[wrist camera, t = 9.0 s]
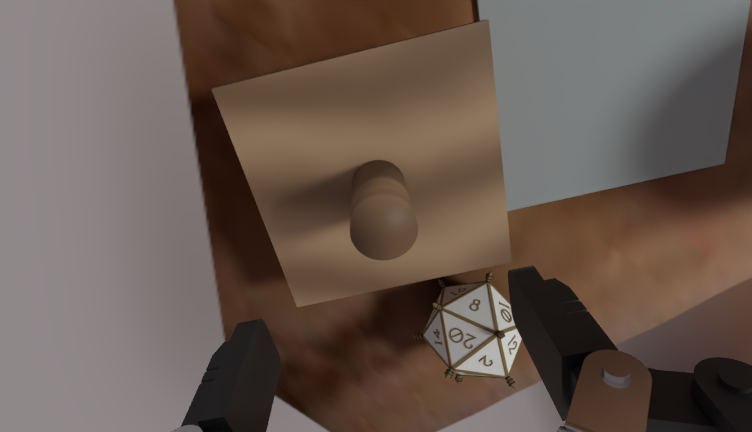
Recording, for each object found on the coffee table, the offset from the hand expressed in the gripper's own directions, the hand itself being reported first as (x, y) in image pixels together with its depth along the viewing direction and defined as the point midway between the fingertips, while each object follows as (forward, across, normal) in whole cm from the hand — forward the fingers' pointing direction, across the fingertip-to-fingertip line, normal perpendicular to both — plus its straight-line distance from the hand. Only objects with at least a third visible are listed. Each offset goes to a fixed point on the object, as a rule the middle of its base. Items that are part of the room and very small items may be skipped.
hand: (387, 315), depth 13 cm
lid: (+13, 0, 0) cm, 13 cm away
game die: (+18, -5, +15) cm, 23 cm away
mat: (+18, -17, -2) cm, 25 cm away
